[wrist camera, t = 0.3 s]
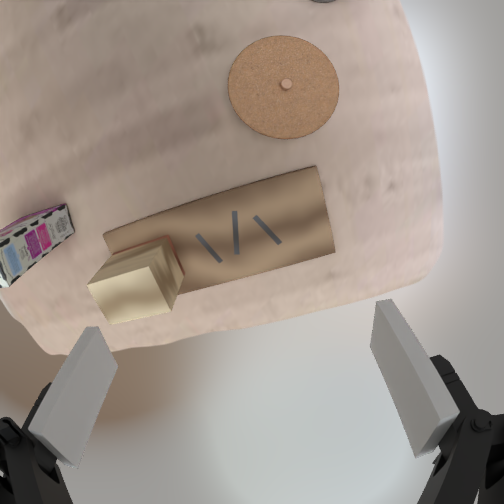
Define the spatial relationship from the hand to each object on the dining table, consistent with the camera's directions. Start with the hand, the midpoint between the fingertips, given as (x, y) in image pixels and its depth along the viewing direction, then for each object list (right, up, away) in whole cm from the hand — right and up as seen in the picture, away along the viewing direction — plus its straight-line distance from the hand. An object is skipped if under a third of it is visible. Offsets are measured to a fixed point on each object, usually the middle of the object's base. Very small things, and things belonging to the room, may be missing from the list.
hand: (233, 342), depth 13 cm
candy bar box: (-31, +9, +25) cm, 41 cm away
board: (-4, +6, +27) cm, 28 cm away
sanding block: (-14, +3, +27) cm, 31 cm away
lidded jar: (+4, +23, +19) cm, 30 cm away
